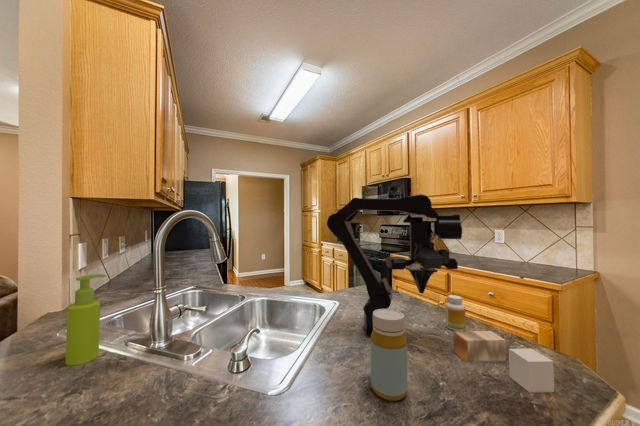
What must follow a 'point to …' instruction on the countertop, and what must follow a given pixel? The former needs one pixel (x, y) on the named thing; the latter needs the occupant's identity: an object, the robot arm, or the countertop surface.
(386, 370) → the bottle
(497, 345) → the birch block
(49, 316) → the countertop surface
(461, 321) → the supplement bottle
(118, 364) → the countertop surface
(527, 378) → the grey block
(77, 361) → the soap dispenser
